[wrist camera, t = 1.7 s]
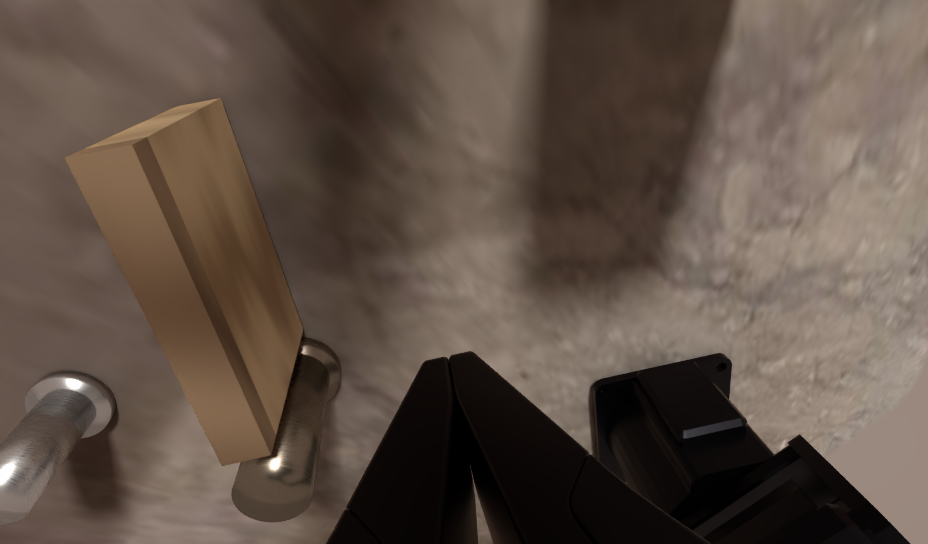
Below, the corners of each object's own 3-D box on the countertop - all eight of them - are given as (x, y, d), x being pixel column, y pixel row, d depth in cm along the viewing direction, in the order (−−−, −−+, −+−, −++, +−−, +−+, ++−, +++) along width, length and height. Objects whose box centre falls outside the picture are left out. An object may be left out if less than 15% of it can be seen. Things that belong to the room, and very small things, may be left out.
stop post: (128, 421, 22) (64, 523, 18) (55, 436, 22) (-27, 543, 18) (94, 363, 21) (16, 458, 17) (16, 379, 21) (-83, 479, 16)
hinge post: (349, 391, 23) (337, 518, 17) (275, 407, 23) (239, 540, 17) (329, 330, 22) (308, 445, 16) (250, 346, 22) (201, 469, 16)
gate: (305, 335, 22) (274, 462, 15) (271, 342, 21) (225, 473, 15) (220, 98, 17) (132, 144, 11) (177, 106, 17) (64, 157, 11)
